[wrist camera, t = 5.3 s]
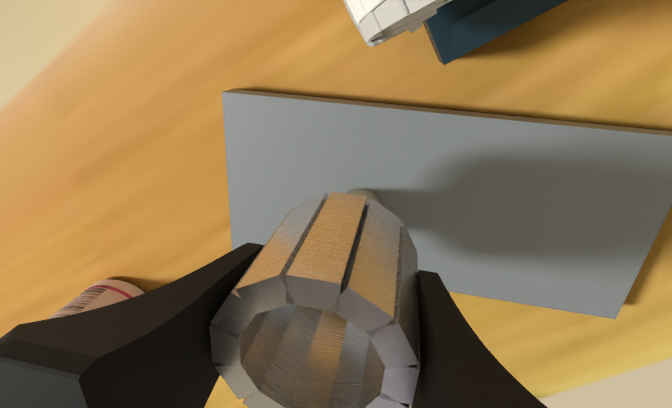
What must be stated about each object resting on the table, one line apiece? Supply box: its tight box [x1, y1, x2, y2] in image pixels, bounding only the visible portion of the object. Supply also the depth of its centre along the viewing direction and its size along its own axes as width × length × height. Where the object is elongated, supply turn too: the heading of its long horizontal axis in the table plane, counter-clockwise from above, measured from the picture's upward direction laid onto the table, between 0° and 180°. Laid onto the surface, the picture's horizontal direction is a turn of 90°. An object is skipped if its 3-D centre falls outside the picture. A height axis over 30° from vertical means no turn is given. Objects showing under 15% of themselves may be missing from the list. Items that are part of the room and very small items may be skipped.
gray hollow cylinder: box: [209, 191, 420, 408], centre depth 11 cm, size 5×5×5 cm
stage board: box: [222, 89, 672, 319], centre depth 18 cm, size 9×20×1 cm, turn 87°
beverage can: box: [48, 279, 145, 319], centre depth 20 cm, size 6×6×15 cm
